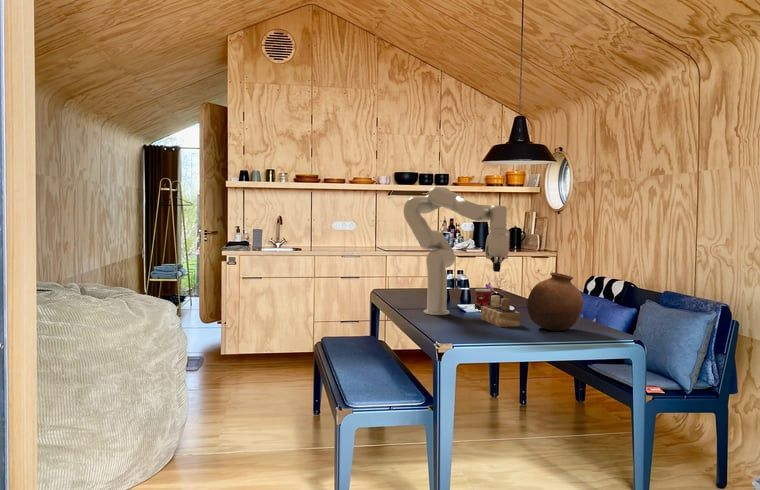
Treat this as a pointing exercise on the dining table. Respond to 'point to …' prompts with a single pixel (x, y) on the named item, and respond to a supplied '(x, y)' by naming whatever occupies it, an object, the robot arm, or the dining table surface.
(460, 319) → the dining table surface
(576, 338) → the dining table surface
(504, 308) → the walnut peg
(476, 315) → the dining table surface
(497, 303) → the maple peg
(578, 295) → the pottery
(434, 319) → the dining table surface
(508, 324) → the oak block
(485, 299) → the canned food
